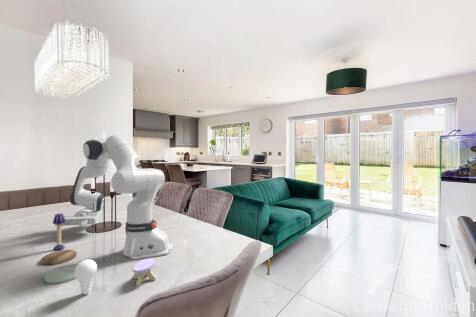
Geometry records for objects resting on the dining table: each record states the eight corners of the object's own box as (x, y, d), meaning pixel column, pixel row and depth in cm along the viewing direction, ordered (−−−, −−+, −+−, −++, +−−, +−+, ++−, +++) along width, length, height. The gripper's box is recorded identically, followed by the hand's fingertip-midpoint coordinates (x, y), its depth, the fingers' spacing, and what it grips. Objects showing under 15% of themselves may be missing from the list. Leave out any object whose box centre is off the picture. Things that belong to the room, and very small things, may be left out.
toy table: (143, 289, 75) (144, 272, 75) (123, 283, 78) (123, 267, 78) (162, 275, 84) (163, 260, 84) (144, 270, 88) (144, 256, 88)
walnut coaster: (81, 251, 103) (81, 249, 103) (67, 263, 92) (67, 261, 92) (52, 253, 101) (52, 250, 101) (33, 266, 89) (33, 263, 89)
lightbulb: (77, 302, 68) (77, 267, 68) (72, 294, 72) (72, 260, 72) (99, 293, 72) (99, 260, 72) (93, 286, 77) (94, 254, 76)
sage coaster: (90, 265, 91) (90, 262, 91) (74, 282, 79) (75, 278, 79) (57, 268, 88) (57, 265, 88) (36, 285, 76) (36, 281, 76)
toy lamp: (50, 249, 105) (50, 214, 104) (61, 246, 109) (61, 212, 109) (56, 251, 103) (57, 215, 103) (67, 247, 107) (67, 213, 107)
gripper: (63, 212, 126) (47, 219, 113) (102, 211, 130) (91, 217, 117) (63, 223, 126) (47, 231, 113) (102, 222, 130) (91, 229, 117)
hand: (70, 224), depth 115 cm, fingers open, 8 cm apart
